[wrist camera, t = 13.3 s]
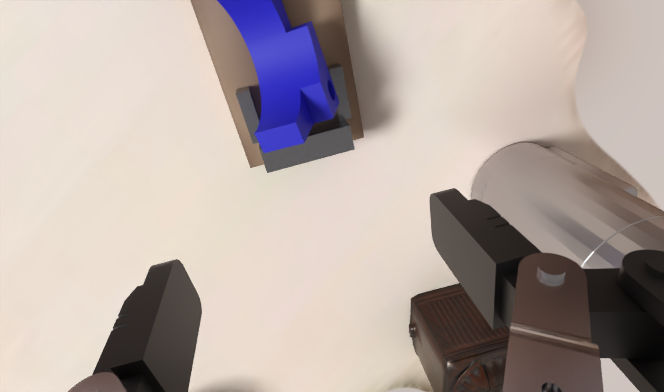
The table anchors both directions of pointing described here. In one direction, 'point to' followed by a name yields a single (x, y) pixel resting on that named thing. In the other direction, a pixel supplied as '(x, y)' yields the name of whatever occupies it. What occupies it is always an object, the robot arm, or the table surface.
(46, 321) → the table surface
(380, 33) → the table surface
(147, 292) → the robot arm
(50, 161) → the table surface
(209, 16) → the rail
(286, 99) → the blue curved cradle
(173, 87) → the table surface
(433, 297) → the manual coffee grinder
